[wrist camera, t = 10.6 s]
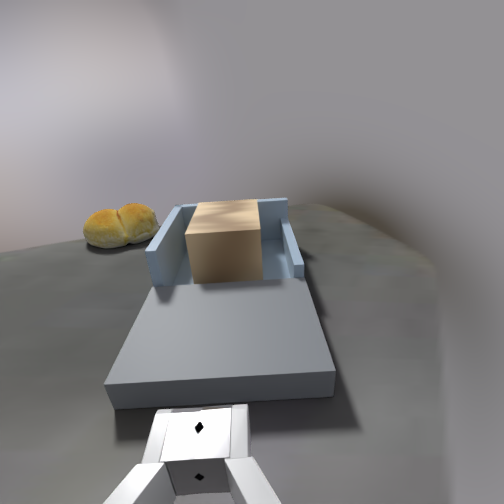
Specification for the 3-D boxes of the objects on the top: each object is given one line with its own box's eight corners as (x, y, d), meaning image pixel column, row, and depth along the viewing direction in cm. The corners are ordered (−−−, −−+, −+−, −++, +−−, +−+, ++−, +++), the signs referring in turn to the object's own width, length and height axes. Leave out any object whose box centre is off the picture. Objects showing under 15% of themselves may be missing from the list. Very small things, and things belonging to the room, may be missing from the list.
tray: (158, 305, 25) (144, 251, 22) (183, 246, 34) (175, 205, 32) (303, 296, 24) (304, 241, 22) (286, 239, 34) (286, 197, 32)
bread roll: (90, 232, 41) (81, 204, 39) (157, 220, 43) (151, 193, 42) (83, 258, 34) (71, 225, 32) (163, 241, 37) (156, 210, 35)
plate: (114, 409, 16) (103, 384, 15) (157, 307, 24) (152, 286, 23) (333, 396, 16) (335, 370, 15) (304, 298, 24) (304, 277, 23)
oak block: (184, 234, 23) (198, 202, 31) (194, 286, 26) (205, 246, 33) (260, 229, 23) (256, 198, 31) (263, 282, 26) (259, 242, 33)
